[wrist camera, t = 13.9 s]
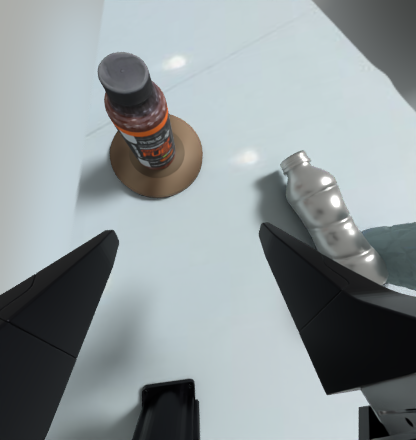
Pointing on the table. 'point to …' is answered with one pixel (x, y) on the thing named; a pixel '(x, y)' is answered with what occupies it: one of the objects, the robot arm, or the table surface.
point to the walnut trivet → (162, 178)
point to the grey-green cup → (396, 252)
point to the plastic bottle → (329, 218)
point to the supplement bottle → (137, 109)
